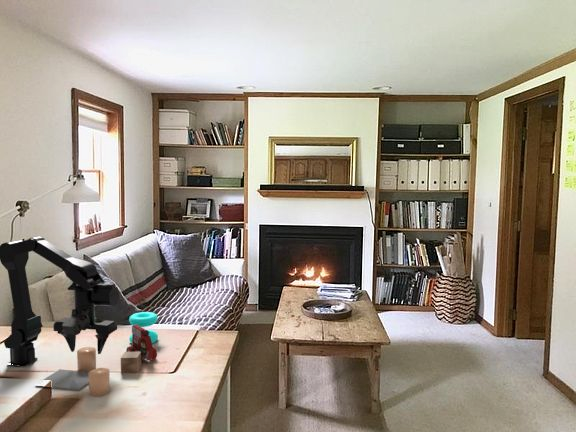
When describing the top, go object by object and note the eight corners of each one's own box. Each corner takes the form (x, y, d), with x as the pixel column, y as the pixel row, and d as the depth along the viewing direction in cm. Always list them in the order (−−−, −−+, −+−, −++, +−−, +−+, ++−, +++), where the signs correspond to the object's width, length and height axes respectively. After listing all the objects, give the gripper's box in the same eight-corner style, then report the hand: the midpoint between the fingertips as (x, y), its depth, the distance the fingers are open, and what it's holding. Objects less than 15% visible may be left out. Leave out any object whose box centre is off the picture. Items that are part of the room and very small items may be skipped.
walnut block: (121, 373, 149) (120, 357, 148) (125, 367, 154) (124, 351, 153) (137, 373, 149) (137, 357, 149) (141, 366, 154) (140, 351, 154)
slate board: (35, 386, 139) (35, 384, 139) (59, 371, 150) (59, 369, 150) (79, 391, 137) (79, 388, 137) (101, 375, 148) (101, 373, 147)
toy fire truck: (140, 367, 154) (139, 335, 153) (124, 356, 163) (123, 326, 162) (160, 361, 158) (160, 330, 157) (143, 351, 168) (143, 321, 167)
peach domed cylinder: (73, 371, 150) (73, 352, 150) (84, 364, 155) (83, 346, 155) (89, 372, 149) (89, 354, 149) (99, 366, 154) (99, 347, 154)
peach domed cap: (85, 395, 134) (84, 374, 133) (96, 387, 139) (95, 367, 139) (102, 397, 133) (102, 376, 132) (113, 389, 138) (113, 368, 138)
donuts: (134, 310, 181) (160, 311, 181) (134, 336, 182) (161, 337, 182) (124, 319, 171) (153, 319, 171) (125, 346, 172) (153, 346, 172)
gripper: (40, 309, 144) (42, 360, 146) (97, 313, 141) (98, 365, 142) (64, 299, 155) (65, 346, 156) (117, 303, 152) (118, 351, 153)
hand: (86, 352), depth 152 cm, fingers open, 9 cm apart
